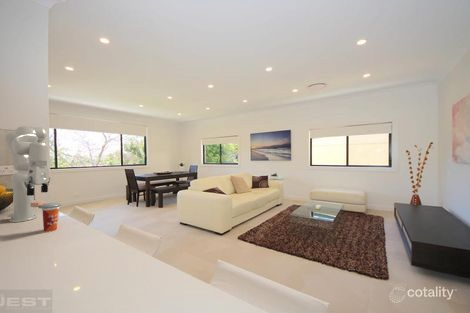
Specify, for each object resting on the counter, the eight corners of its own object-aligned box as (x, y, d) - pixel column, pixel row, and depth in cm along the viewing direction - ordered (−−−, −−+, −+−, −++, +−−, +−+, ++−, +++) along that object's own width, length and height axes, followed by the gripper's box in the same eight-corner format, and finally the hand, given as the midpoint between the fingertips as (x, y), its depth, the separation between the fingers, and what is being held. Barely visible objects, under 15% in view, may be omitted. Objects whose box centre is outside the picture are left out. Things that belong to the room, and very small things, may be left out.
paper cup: (50, 232, 116) (51, 208, 116) (37, 232, 116) (37, 207, 116) (62, 227, 124) (63, 204, 124) (50, 227, 124) (50, 204, 124)
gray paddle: (65, 204, 125) (65, 199, 125) (52, 208, 115) (52, 203, 115) (40, 204, 123) (40, 200, 123) (25, 208, 114) (25, 204, 113)
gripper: (32, 164, 110) (32, 196, 110) (56, 163, 127) (56, 191, 127) (16, 164, 109) (16, 196, 109) (42, 163, 126) (42, 191, 126)
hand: (37, 193), depth 118 cm, fingers open, 9 cm apart
